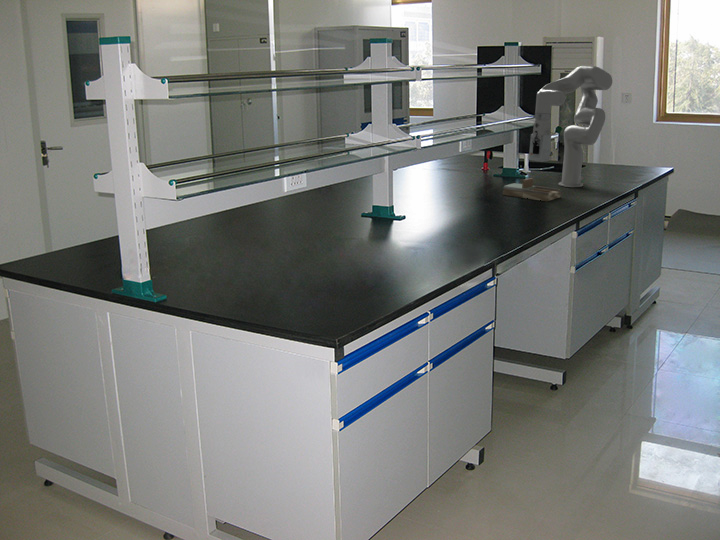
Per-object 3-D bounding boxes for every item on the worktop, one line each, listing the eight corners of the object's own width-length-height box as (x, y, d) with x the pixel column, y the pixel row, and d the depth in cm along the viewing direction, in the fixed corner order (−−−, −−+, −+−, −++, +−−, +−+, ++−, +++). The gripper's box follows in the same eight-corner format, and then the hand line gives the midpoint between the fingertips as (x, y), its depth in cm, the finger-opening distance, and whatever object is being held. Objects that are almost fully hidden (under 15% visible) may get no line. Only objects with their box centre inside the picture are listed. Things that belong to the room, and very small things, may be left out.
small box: (549, 161, 375) (551, 134, 371) (541, 162, 371) (543, 135, 368) (536, 159, 381) (538, 133, 377) (528, 160, 377) (530, 133, 374)
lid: (513, 185, 384) (514, 175, 382) (535, 188, 376) (535, 178, 375) (503, 187, 377) (504, 177, 375) (524, 190, 369) (525, 180, 368)
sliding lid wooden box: (517, 190, 386) (517, 183, 384) (560, 197, 370) (561, 189, 369) (502, 194, 376) (503, 186, 374) (546, 201, 360) (547, 193, 359)
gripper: (540, 118, 362) (537, 155, 366) (558, 116, 374) (555, 152, 379) (526, 117, 366) (523, 153, 371) (544, 115, 379) (541, 151, 384)
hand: (539, 152), depth 375 cm, fingers closed on small box, 6 cm apart
